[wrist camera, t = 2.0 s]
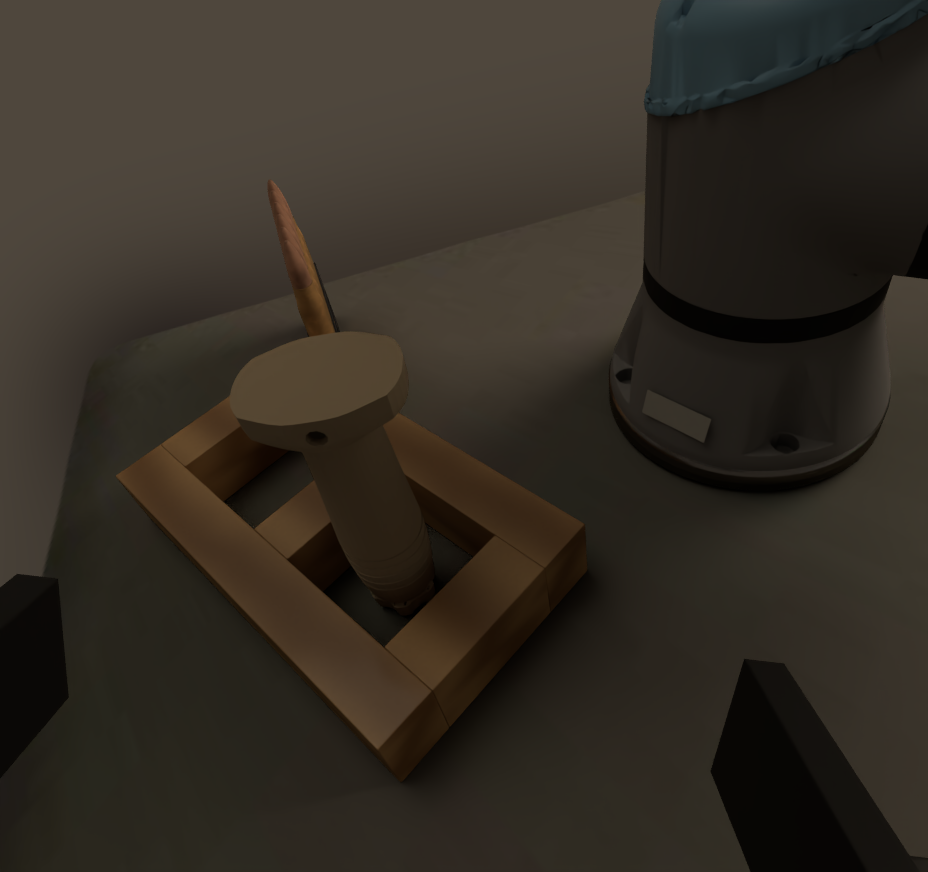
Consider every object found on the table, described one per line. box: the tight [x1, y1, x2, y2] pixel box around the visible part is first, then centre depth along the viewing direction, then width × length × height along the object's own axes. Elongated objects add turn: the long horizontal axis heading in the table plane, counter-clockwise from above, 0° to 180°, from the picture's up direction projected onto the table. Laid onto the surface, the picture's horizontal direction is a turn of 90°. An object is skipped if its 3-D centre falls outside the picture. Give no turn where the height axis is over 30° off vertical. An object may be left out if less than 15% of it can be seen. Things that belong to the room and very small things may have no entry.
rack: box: [116, 396, 587, 782], centre depth 37 cm, size 13×23×4 cm, turn 47°
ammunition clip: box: [268, 180, 340, 337], centre depth 45 cm, size 11×2×12 cm, turn 18°
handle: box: [230, 331, 435, 616], centre depth 30 cm, size 5×6×15 cm
